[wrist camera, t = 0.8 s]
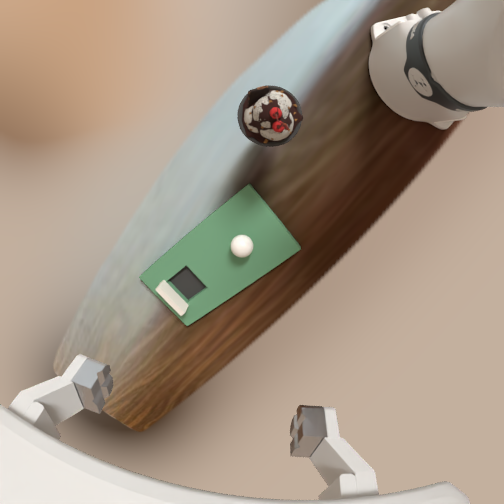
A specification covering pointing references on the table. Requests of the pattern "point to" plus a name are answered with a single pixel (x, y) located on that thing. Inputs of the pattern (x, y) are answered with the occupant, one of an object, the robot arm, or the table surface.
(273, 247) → the green
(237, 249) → the ball
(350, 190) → the table surface
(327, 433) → the robot arm
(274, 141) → the sundae
